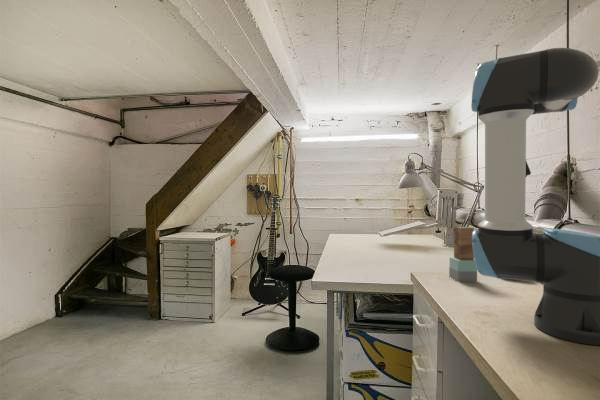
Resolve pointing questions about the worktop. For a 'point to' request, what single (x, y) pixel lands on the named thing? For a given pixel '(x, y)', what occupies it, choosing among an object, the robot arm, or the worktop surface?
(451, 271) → the tower base
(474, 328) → the worktop surface
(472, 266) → the tower mid
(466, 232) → the walnut post
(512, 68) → the robot arm
